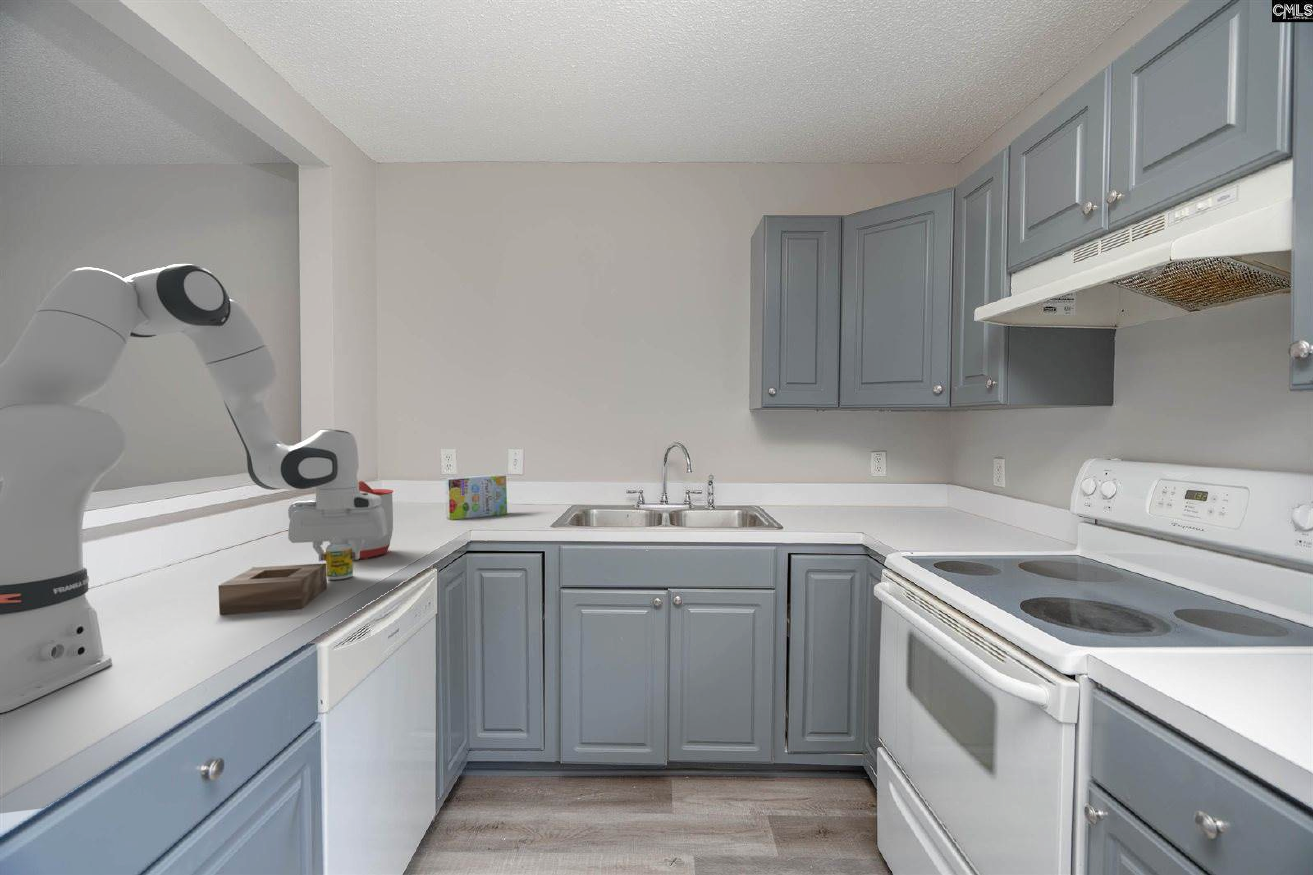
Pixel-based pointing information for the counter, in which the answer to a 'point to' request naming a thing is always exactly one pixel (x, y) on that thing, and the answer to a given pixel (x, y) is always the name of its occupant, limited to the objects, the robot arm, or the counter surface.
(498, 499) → the snack box
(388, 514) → the citrus juicer
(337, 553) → the supplement bottle
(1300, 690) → the counter surface
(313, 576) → the socket block
